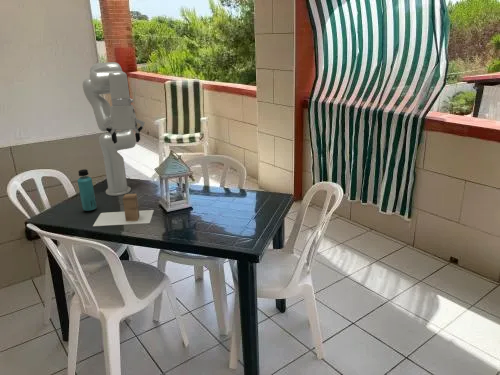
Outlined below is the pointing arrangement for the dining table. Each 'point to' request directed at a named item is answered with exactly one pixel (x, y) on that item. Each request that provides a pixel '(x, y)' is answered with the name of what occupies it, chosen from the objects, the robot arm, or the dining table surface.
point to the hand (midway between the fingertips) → (126, 142)
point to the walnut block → (131, 207)
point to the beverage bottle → (86, 191)
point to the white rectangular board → (122, 218)
